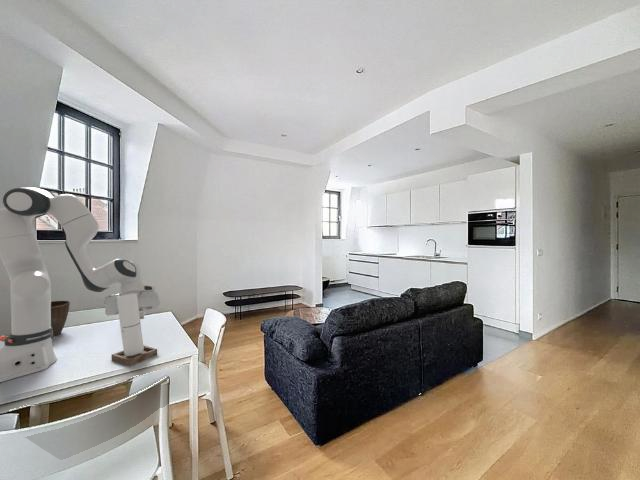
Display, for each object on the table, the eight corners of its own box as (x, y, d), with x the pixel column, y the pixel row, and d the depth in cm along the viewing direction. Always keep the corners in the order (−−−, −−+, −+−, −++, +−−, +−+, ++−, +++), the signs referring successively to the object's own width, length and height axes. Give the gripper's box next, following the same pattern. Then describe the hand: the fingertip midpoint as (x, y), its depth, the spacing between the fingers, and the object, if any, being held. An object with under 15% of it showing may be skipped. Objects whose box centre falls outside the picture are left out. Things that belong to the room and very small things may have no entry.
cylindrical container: (137, 355, 117) (129, 298, 114) (120, 356, 117) (112, 299, 114) (147, 347, 124) (140, 293, 121) (131, 348, 124) (124, 293, 121)
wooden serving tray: (129, 366, 113) (129, 360, 112) (111, 360, 117) (111, 354, 117) (157, 354, 124) (157, 349, 123) (139, 349, 128) (139, 344, 128)
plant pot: (41, 341, 135) (41, 309, 135) (23, 337, 140) (23, 306, 140) (76, 331, 149) (76, 302, 149) (59, 328, 154) (58, 299, 154)
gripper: (103, 291, 118) (104, 320, 111) (158, 286, 131) (162, 311, 124) (103, 300, 122) (104, 328, 115) (156, 293, 135) (160, 318, 128)
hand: (135, 319), depth 120 cm, fingers closed on cylindrical container, 4 cm apart
